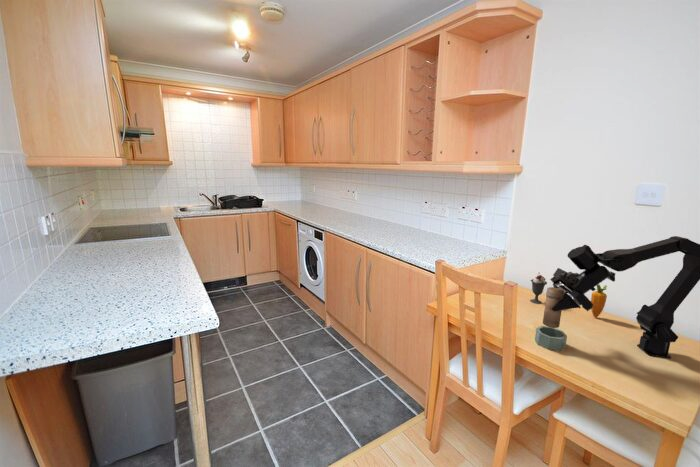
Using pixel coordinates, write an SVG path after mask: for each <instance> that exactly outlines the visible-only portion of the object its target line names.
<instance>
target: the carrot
mask: <svg viewBox="0 0 700 467" xmlns="http://www.w3.org/2000/svg"><path fill="white" fill-rule="evenodd" d="M607 287H608V285H604V286H603V287H602V288H601V285H600V283H599V284H598V285H596V290H594V291H592V292H591V298H590V301H591V302H592V303H593V308H592V309H590V310H591V313H592V316H593V317H594V318H595V319H596V318H598V317H599V316H600V315H601V313H602V312H603V311H604V308H605V306H606V303H607V297H608V295H607V294H606V293H605V292H604V291H606V290H607Z"/></svg>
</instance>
